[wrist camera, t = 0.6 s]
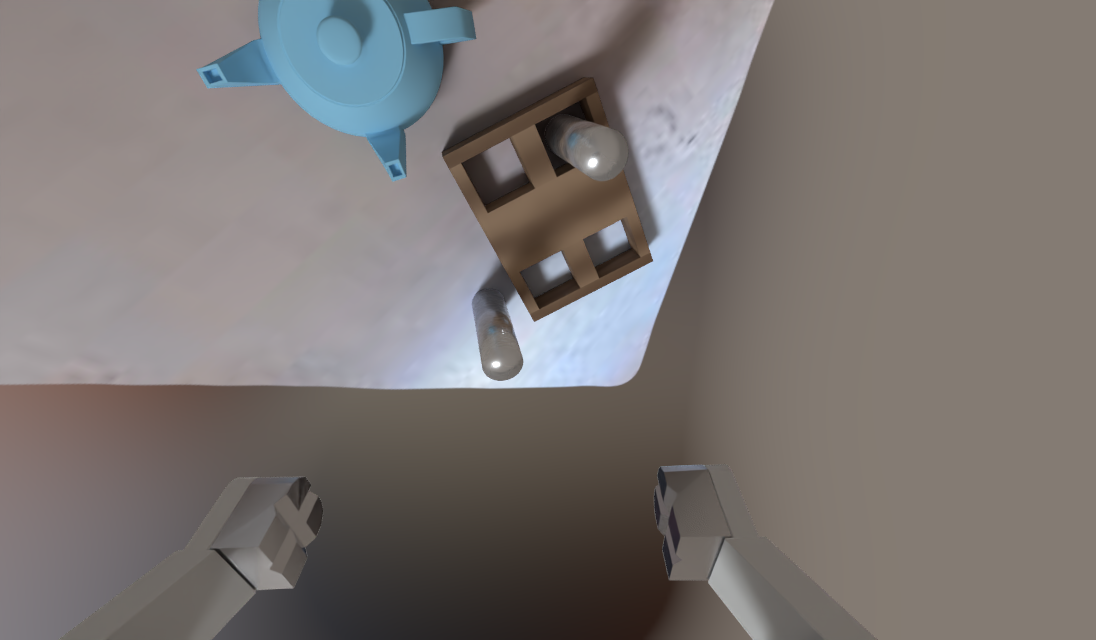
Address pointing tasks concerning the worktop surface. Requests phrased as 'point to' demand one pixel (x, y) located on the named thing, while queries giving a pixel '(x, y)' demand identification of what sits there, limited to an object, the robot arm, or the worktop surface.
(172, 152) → the worktop surface
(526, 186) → the socket board
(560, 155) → the pin
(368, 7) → the teapot
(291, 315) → the worktop surface
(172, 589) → the robot arm
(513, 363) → the pin
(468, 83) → the worktop surface
